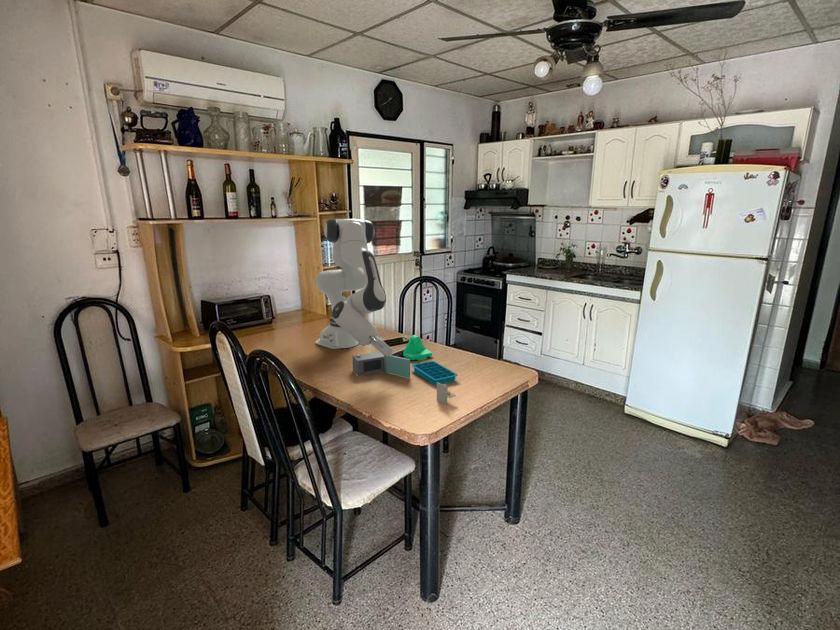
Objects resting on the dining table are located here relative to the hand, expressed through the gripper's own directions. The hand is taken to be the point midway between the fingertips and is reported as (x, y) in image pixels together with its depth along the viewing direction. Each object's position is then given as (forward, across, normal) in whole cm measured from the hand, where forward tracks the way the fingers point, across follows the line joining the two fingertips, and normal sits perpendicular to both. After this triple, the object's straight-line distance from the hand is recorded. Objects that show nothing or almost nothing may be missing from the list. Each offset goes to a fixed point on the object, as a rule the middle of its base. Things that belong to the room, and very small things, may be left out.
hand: (389, 353), depth 179 cm
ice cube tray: (+22, -5, -5) cm, 23 cm away
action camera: (+6, +12, +10) cm, 17 cm away
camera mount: (+25, +19, -8) cm, 32 cm away
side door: (+11, +3, +5) cm, 13 cm away
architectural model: (+15, -28, +2) cm, 32 cm away
